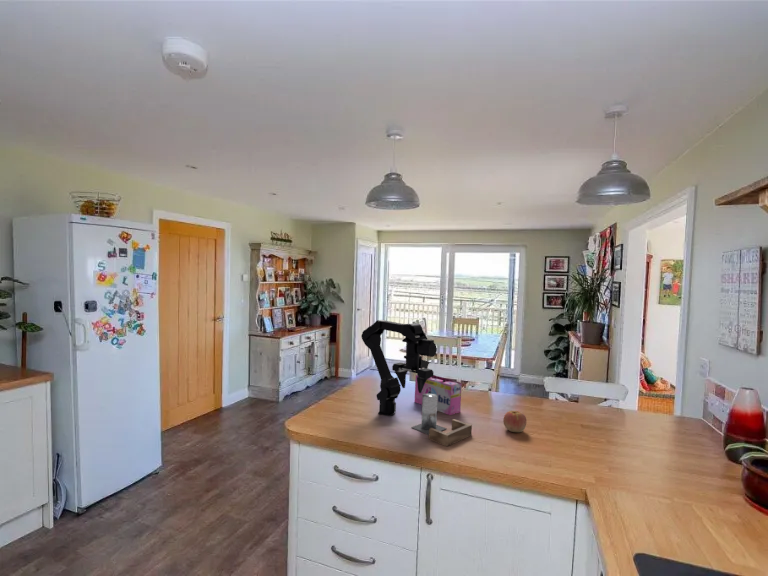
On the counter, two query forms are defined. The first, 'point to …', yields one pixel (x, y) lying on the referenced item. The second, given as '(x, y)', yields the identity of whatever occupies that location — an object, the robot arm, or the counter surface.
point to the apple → (514, 421)
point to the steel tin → (429, 411)
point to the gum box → (441, 393)
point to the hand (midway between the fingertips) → (411, 390)
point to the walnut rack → (451, 433)
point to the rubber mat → (418, 427)
